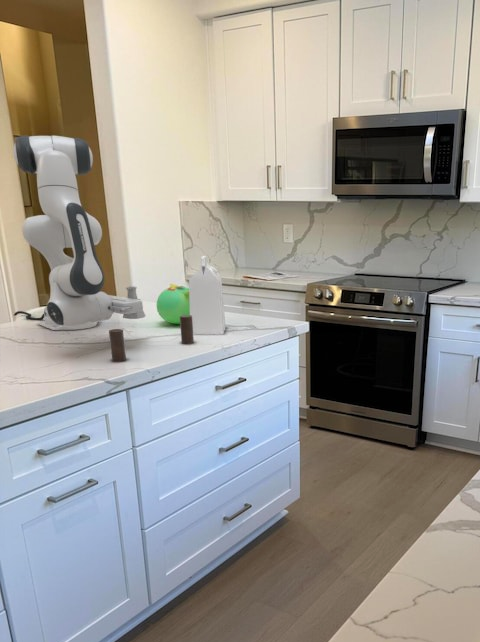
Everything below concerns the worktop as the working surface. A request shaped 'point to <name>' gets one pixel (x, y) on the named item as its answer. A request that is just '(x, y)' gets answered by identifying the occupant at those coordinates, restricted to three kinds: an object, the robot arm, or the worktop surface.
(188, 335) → the walnut peg back
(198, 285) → the milk
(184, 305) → the toy bird
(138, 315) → the flask
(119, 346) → the walnut peg front
